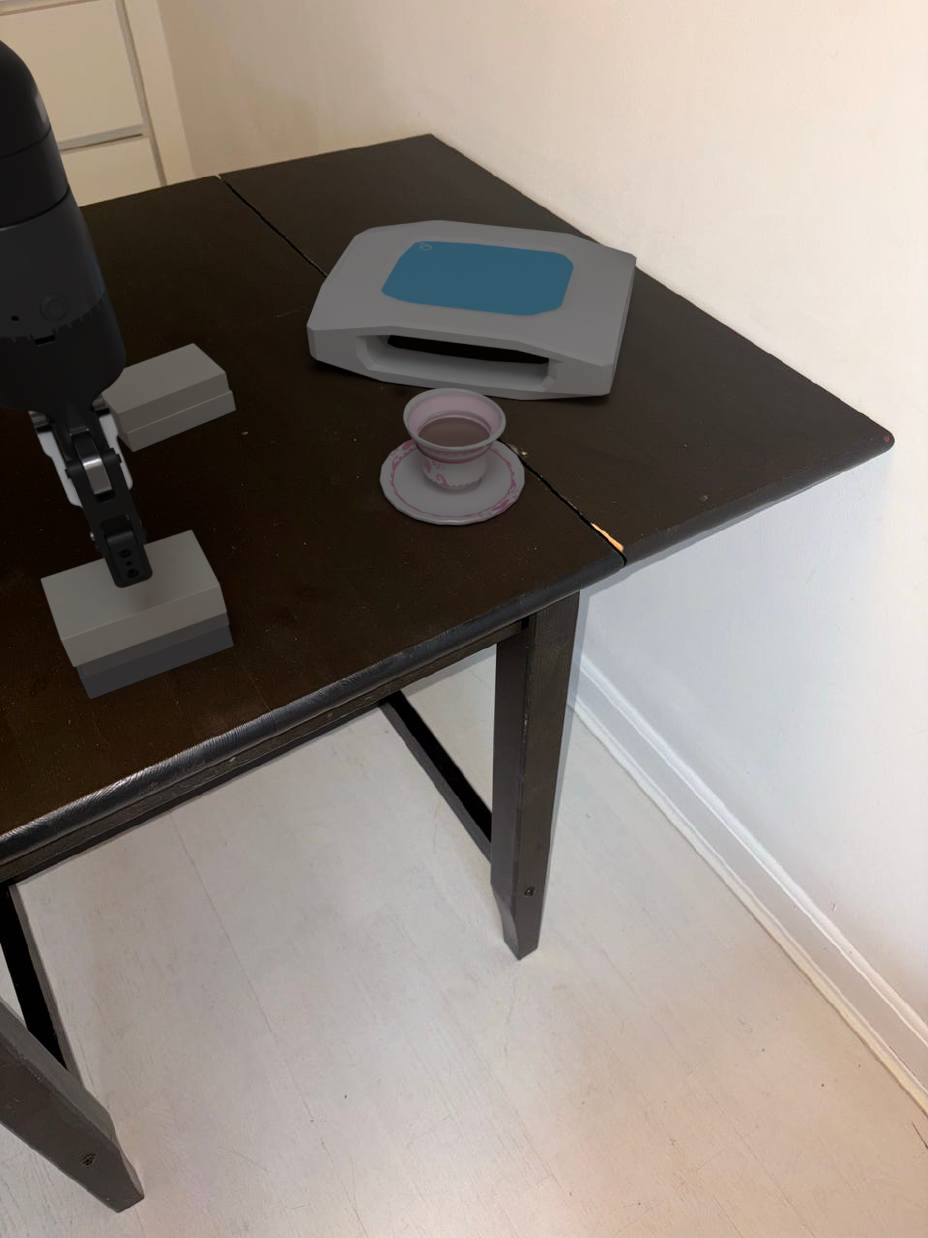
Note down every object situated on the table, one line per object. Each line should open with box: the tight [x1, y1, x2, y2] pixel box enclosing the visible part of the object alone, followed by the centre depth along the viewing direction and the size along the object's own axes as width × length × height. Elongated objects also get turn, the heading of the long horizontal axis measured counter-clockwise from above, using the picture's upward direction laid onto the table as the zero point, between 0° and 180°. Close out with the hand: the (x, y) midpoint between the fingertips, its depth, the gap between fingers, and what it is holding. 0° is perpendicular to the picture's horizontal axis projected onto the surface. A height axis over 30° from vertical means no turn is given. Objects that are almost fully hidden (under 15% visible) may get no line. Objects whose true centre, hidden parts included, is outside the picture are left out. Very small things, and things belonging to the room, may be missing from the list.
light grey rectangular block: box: [40, 529, 228, 668], centre depth 62 cm, size 10×6×3 cm, turn 118°
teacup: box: [379, 388, 525, 526], centre depth 77 cm, size 12×12×6 cm
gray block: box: [75, 611, 235, 700], centre depth 64 cm, size 10×4×4 cm, turn 118°
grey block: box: [102, 342, 237, 453], centre depth 84 cm, size 10×6×4 cm, turn 128°
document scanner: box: [306, 219, 638, 401], centre depth 92 cm, size 21×28×6 cm
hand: (116, 536), depth 58 cm, fingers open, 8 cm apart
